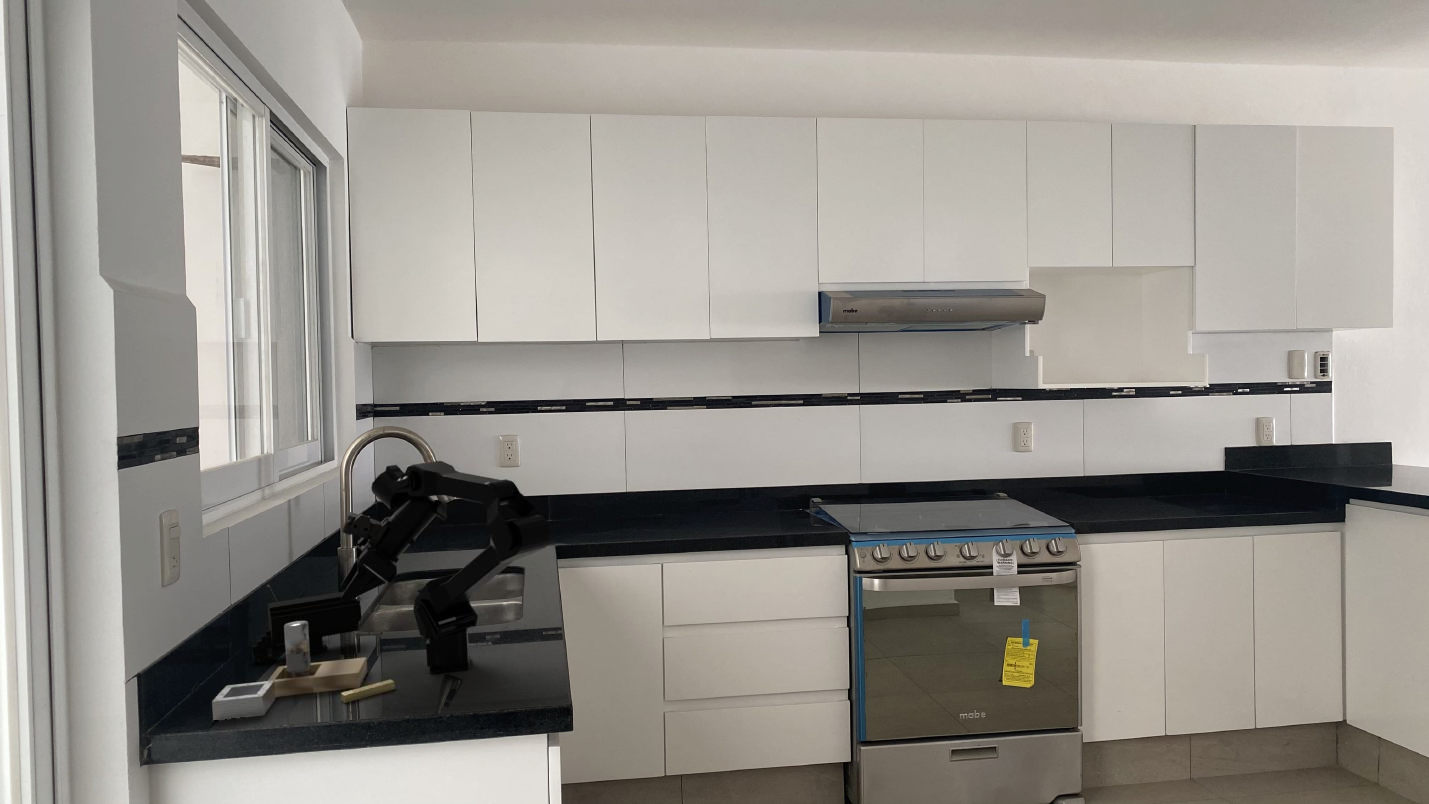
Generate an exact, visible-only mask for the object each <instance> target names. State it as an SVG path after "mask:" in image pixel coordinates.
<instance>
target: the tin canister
mask: <svg viewBox="0 0 1429 804" xmlns="http://www.w3.org/2000/svg"><path fill="white" fill-rule="evenodd" d="M284 633H285V643H284V644H285V663H286V664H285V665H286V666H287V678H295V677H304V676H311V663H312V662H311V654H310V647H309V631H308V622H307V621H296V622H291V623H287V624H285V625H284Z"/></svg>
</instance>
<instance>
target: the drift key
mask: <svg viewBox="0 0 1429 804" xmlns="http://www.w3.org/2000/svg"><path fill="white" fill-rule="evenodd" d="M395 687H396V686H395V681H394V680H392V679H388V680H383V681H380V682H376V683H373V684H369V685H365V686H362V687H361V686H360V687H359V688H353V689H349V690H347V691H344V692H340V700H341V702H342V703H345V704H346V703H347V704H348V703H350V702H353V701H354V702H355V701H357V700H358V701H359V700H360V699H363V698H368V697H371V696H375V695H379V694H383V693H386V692H390V691H392V690H395V689H396V688H395Z"/></svg>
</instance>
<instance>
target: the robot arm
mask: <svg viewBox="0 0 1429 804" xmlns="http://www.w3.org/2000/svg"><path fill="white" fill-rule="evenodd" d="M371 483H372V484H371V493H372V494H373V495H374V496H376V498H377V499H379V501H381V503H383V504H384V505H385V506H386V507H387V508H388V509H389V510H390V511H392V512H393V514H392V515H391V516H388V517H385V518H383V520H382V521H379V520H376V519H374V518H371V516H370V515H368V516H367V515H365V514H363V513H360V514H359V513H356V512H352V511H349V512H348V514H347V516H346V519H345V521H344V523H343V526H342V528H341V529H342V530H341V532H342V533H344V534H346V535H348V536H352V535H353V536H356V537H359V540H357V544H356V546H355V548H356V550H355V551H356V559H355V561H354V562H353V564H352V566H351V567H350V570H348V573H347V575H345V578H344V579H343V581H342V582H341V584H340V589H342V590H343V592H344V593H343V595H342V596H341V598H340V600H341V601H343V602H344V603H346V602H348V601H350V600H352V599H354V598H356V599H357V597H360V596H362V595H363V594H366V593H368V592H369V591H372V590H374V589H376V588H378V587H380V586H383V585H386V584H387V583H390V582H392V580H393V579H394V578H395V577H396V576H397V574H398V569H397V568H398V567H397V563H398V562H399V560H400V556H401V555H402V554H403V553H404V552H405V551H406V550H407V548H408V547H409V546H413V545H414V544H415V542H416V541H417V540H416V539H417V538H418V536H419V535H420V534H421V533H422V531H423V530H424V529H425V528H426V527H427V526H428V525H429V524H430V523H431V522H432V521H433V520H434V519H435V517H436V516H437V517H438V518H440V519H441V520H442V521H446V520H447V518H448V515H447V504H445V503H444V502H443V501H442V500H437V501H436V500H434V499H433V497H435V496H445V497H450V498H454V499H460V500H465V501H469V502H474V503H479V504H482V505H483V506H484V507H485V510H486V527H487V529H488V531H489V533H490V534H491V535H490V544H489V545H488V546H487V547H486V548H485V549H484V550H483V551H481V552H480V553H479V554H477V556H475V558H473V559H472V560H471V561H470V562H469V563H467V564H466V565H465V566H464V567H463V568H461V569H460V570H459V571H458V572H457V573H453V574H448V575H446V576H441V577H437V578H434V579H431V580H429V581H427V583H426V584H425V585H424V587H422V588H420V589H417V592H418V594H417V595H416V596H415V598H414V604H413V608H412V609H413V615H414V618H415V621H416V624H417V625H416V626H417V628H418V631H419V636H422V637H423V639H426V643H425V649H426V651H425V652H426V666H427V667H428V668H429V670H428V671H429V672H428V673H429V674H434V673H444V672H452V671H453V672H454V671H463V670H469V668H470V662H471V655H470V651H469V649H470V648H469V632H468V630H469V629H470V628H474V627H477V623H478V618H479V617H478V613H476V611H475V610H474V608H473V606H472V605H471V596H473V595H474V594H475V593H476V592H478V591H479V590H480V589H481V588H482V587H484V586H485V585H486V584H487V583H489V582H490V581H491V580H493V579H494V578H495V577H496V576H497V575H499V574H500V573H501V572H503V571H504V570H505V569H506V568H508V567H509V566H510V565H511V564H512V563H513V562H516V561H517V560H519V559H523V558H525V557H527V556H531V555H532V554H534V553H537V552H539V551H541V550H544V549H545V548H547V547H548V546H549V544H550V542H551V527H550V525H549V523H548V521H547V520H546V518H545V516H544V515H543V513H542V511H541V510H540V508H539V507H538V505H537V504H535V503H534V502H533V501H531V500H530V499H529V498H528V497H527V496H525V495H524V494H523V493H521V492H520V490H519V488H518V486H517V485H516V483H515V482H514V481H512V480H509V479H498V478H493V477H487V476H482V475H477V474H473V473H472V474H470V473H466V472H460V471H458V470H456V469H455V467H454V466H453V465H452V464H449V463H447V462H444V460H443V461H442V460H437V461H428V462H419V463H412V464H409V465H407V466H406V469H405V472H404V470H403V471H402V469H401V468H400V467H399V466H398V465H397V464H392V465H387V466H386V468H385V471H383V472H380V474H379V475H378V476H376V478H375V480H374V481H372V482H371ZM503 505H506V506H507V507H508V508H509V509H510V510H512V511H513V512H514V513H516V514H517V515H518V516H519V517H516V518H513V519H508V520H505V518H504V517H503V515H502V513H501V509H502V508H501V506H503ZM453 618H455V619H453ZM450 619H451V620H450ZM447 620H449V621H447ZM443 621H446V622H444V623H441V622H443Z"/></svg>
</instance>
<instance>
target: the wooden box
mask: <svg viewBox="0 0 1429 804" xmlns="http://www.w3.org/2000/svg"><path fill="white" fill-rule="evenodd" d="M310 663H311V676H304V677H295V678H287V665H281V666H278V667H277V668H276V670H275V671H274V672H273V673H272V674H271V676H270V677H269V679H267V681H274V683H275V698H278V697H287V696H296V695H304V694H312V693H313V694H314V693H315V694H316V693H324V692H331V691H340V690H341V689H342V690H351V689H357V688H361V685H362V683H363V682H364V679H365V677H366V675H367V673H368V663H367V657H357V658H356V657H355V658H349V659H347V658H346V659H338V660H328V661H327V660H326V661H320V662H310ZM350 688H351V689H350Z"/></svg>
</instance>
